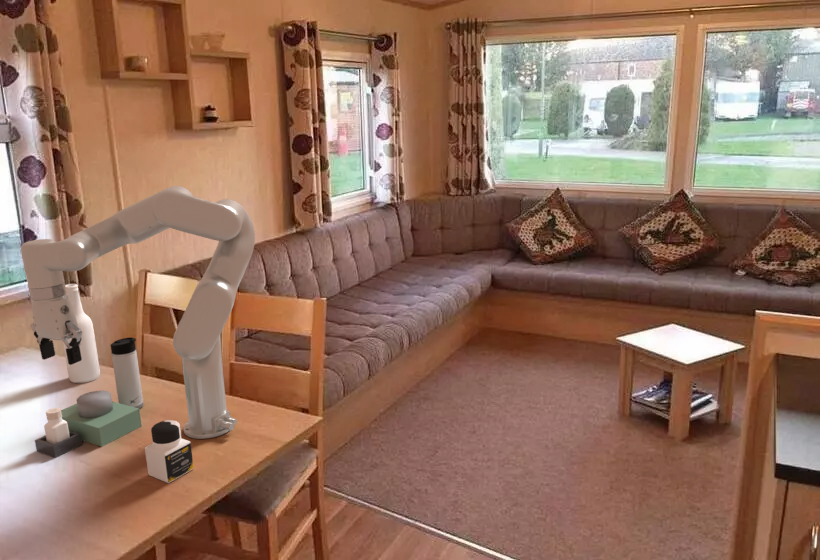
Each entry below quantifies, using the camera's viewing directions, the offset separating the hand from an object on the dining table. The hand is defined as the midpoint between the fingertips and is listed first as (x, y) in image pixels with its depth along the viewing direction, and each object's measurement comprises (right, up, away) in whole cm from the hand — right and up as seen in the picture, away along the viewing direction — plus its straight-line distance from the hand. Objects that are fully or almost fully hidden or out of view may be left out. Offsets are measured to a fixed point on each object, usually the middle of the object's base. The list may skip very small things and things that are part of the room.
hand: (62, 360), depth 159 cm
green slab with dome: (+3, -19, +12) cm, 23 cm away
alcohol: (-17, -11, +46) cm, 50 cm away
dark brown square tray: (-2, -22, +3) cm, 22 cm away
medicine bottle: (+30, -25, -10) cm, 40 cm away
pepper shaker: (-2, -22, +3) cm, 22 cm away
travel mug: (+7, -16, +25) cm, 30 cm away
